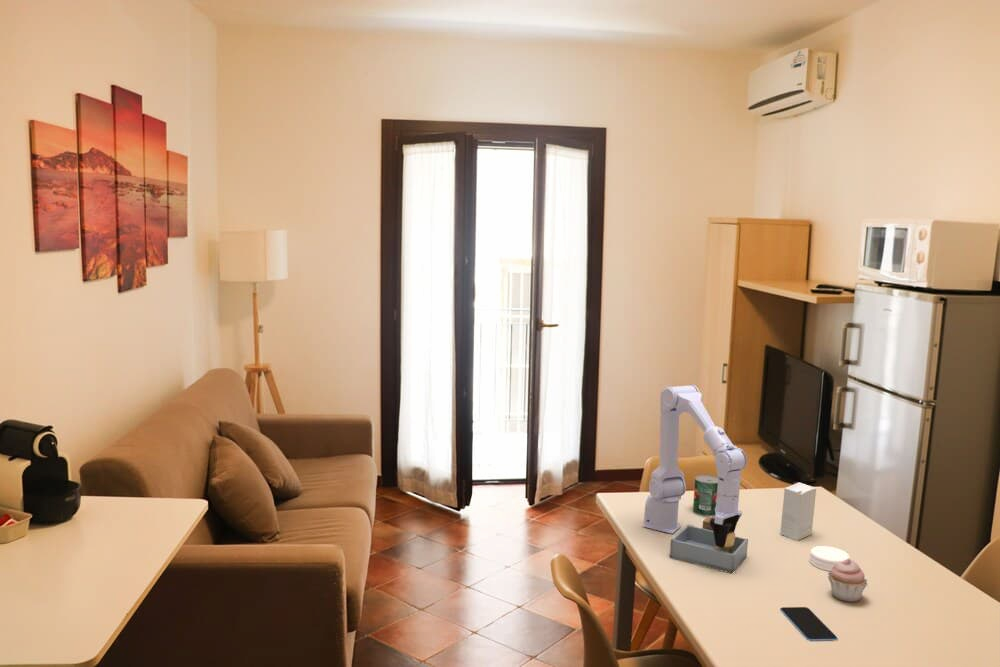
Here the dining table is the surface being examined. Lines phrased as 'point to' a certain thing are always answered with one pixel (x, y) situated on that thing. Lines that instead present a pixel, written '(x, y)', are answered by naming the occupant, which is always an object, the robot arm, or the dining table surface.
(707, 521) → the walnut cube
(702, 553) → the tote
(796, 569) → the dining table surface
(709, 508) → the canned tomato
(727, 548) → the brass cylinder
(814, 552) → the white round disc
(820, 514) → the dining table surface
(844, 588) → the cupcake
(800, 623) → the smartphone
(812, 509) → the skincare box
